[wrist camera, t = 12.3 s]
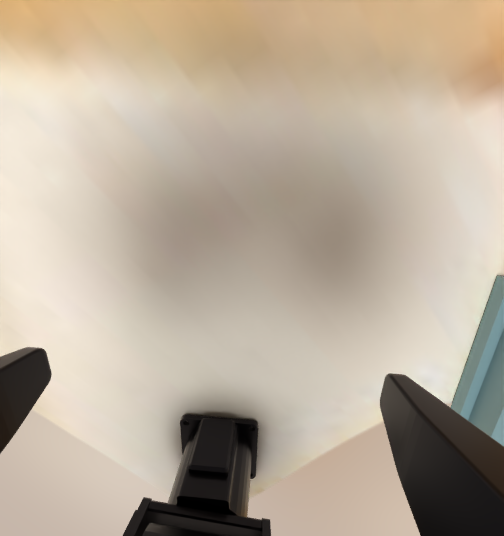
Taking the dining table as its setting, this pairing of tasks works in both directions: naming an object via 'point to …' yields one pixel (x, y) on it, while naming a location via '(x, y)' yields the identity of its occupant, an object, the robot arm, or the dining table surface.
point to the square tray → (485, 371)
